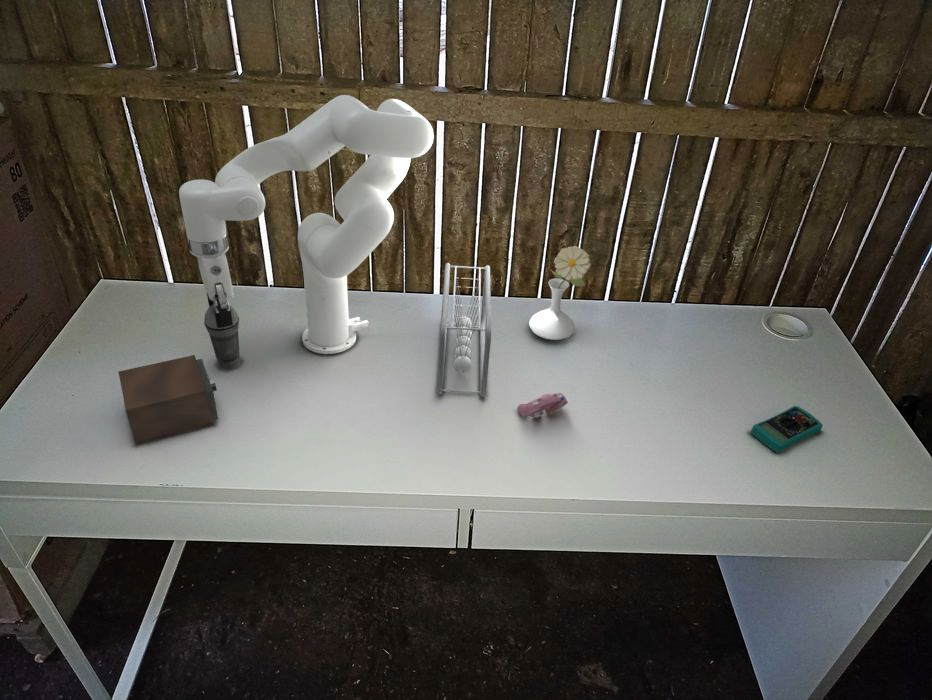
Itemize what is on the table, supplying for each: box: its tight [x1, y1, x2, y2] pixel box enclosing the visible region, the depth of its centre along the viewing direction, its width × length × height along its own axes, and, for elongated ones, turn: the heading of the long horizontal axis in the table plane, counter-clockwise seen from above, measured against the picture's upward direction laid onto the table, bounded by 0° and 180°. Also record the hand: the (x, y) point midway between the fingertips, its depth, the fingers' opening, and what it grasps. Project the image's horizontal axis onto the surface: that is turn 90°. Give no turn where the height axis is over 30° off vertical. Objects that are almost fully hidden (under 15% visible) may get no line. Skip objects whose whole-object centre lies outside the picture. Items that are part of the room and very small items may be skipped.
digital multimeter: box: [750, 405, 824, 454], centre depth 152 cm, size 7×15×3 cm, turn 122°
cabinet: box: [118, 354, 214, 446], centre depth 144 cm, size 15×13×9 cm
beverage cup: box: [203, 303, 241, 370], centre depth 155 cm, size 7×7×20 cm
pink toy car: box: [517, 392, 569, 419], centre depth 152 cm, size 10×5×7 cm, turn 117°
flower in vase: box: [528, 245, 591, 341], centre depth 171 cm, size 13×11×25 cm
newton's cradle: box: [436, 262, 492, 398], centre depth 163 cm, size 30×10×18 cm, turn 179°
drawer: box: [196, 358, 219, 421], centre depth 145 cm, size 15×11×7 cm
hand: (220, 315), depth 154 cm, fingers open, 7 cm apart
